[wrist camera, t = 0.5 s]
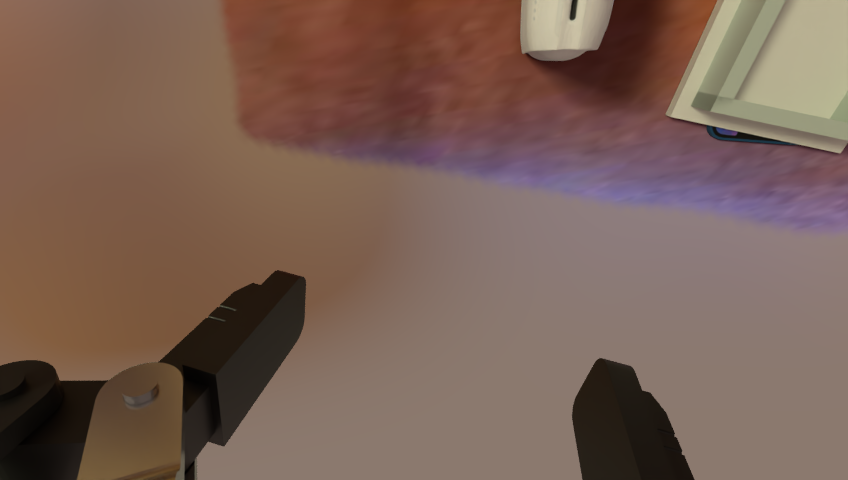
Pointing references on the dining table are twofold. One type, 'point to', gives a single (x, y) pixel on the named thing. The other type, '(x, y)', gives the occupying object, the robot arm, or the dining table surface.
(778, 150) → the dining table surface
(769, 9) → the printer dock
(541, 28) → the photo printer
